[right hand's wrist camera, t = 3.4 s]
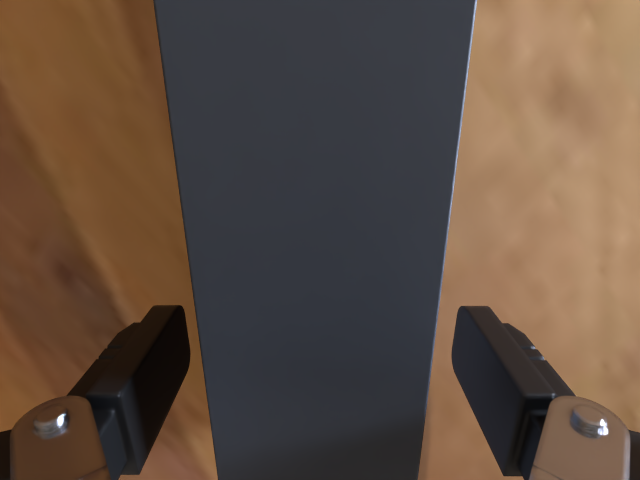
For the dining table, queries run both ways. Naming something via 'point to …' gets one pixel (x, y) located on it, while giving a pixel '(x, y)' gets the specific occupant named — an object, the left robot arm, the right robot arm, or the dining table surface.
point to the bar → (316, 220)
